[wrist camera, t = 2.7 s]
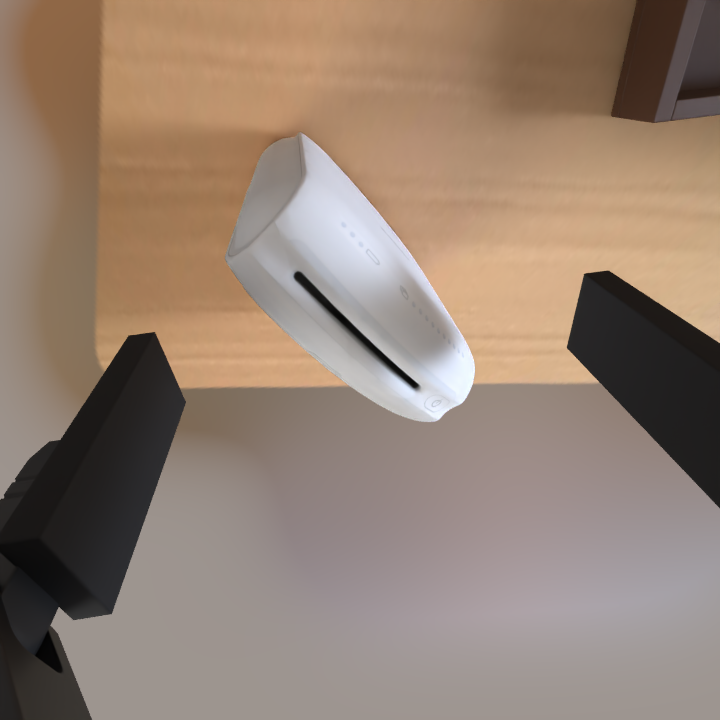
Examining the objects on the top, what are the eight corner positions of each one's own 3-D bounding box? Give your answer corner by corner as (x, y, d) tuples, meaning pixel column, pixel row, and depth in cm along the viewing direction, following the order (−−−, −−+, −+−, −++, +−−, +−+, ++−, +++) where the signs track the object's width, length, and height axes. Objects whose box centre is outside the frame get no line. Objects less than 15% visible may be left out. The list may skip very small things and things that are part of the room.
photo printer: (426, 265, 24) (517, 404, 14) (370, 311, 26) (418, 468, 16) (298, 112, 19) (301, 160, 9) (237, 179, 20) (179, 286, 10)
